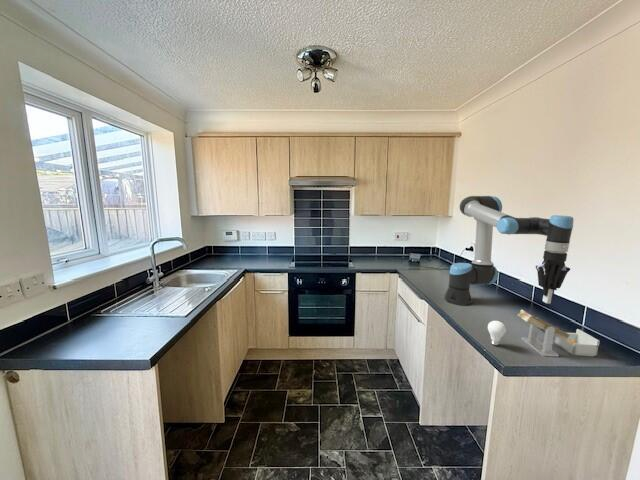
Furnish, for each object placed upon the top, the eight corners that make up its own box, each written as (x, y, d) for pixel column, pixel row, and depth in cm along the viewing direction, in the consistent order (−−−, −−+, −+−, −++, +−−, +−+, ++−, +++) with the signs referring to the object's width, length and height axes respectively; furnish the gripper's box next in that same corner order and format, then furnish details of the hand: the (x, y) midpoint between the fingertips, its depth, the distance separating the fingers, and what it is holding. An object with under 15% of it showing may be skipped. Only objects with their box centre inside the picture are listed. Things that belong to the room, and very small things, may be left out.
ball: (570, 337, 113) (573, 342, 113) (563, 340, 114) (566, 346, 114) (576, 341, 110) (580, 347, 110) (569, 345, 111) (573, 350, 111)
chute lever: (505, 309, 122) (510, 302, 122) (540, 326, 122) (545, 318, 122) (525, 324, 109) (531, 315, 108) (565, 342, 109) (571, 334, 108)
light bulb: (485, 345, 114) (488, 322, 112) (485, 339, 120) (488, 316, 118) (503, 350, 111) (507, 326, 109) (503, 343, 116) (506, 320, 114)
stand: (521, 338, 120) (524, 315, 118) (535, 339, 120) (538, 316, 118) (542, 355, 107) (546, 329, 105) (558, 356, 107) (562, 330, 105)
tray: (554, 342, 117) (556, 327, 116) (575, 343, 117) (578, 329, 115) (572, 355, 108) (575, 339, 107) (596, 356, 107) (599, 340, 106)
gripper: (546, 252, 110) (537, 305, 115) (579, 253, 109) (568, 306, 114) (533, 249, 118) (525, 298, 122) (564, 249, 117) (555, 299, 121)
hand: (546, 302), depth 118 cm, fingers closed
